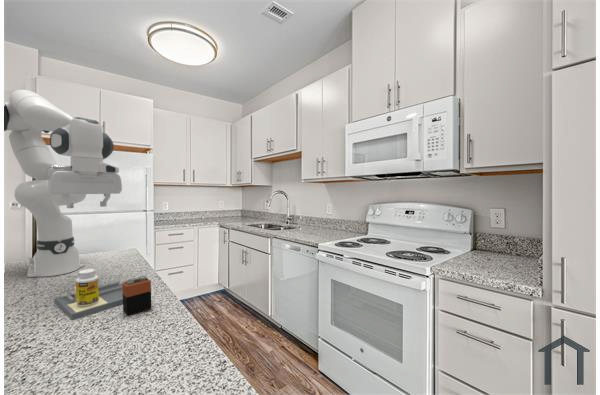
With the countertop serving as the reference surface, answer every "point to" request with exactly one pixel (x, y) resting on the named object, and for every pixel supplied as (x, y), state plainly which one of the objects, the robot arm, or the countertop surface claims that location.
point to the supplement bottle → (87, 288)
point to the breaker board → (107, 299)
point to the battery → (136, 295)
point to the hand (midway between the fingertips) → (87, 207)
